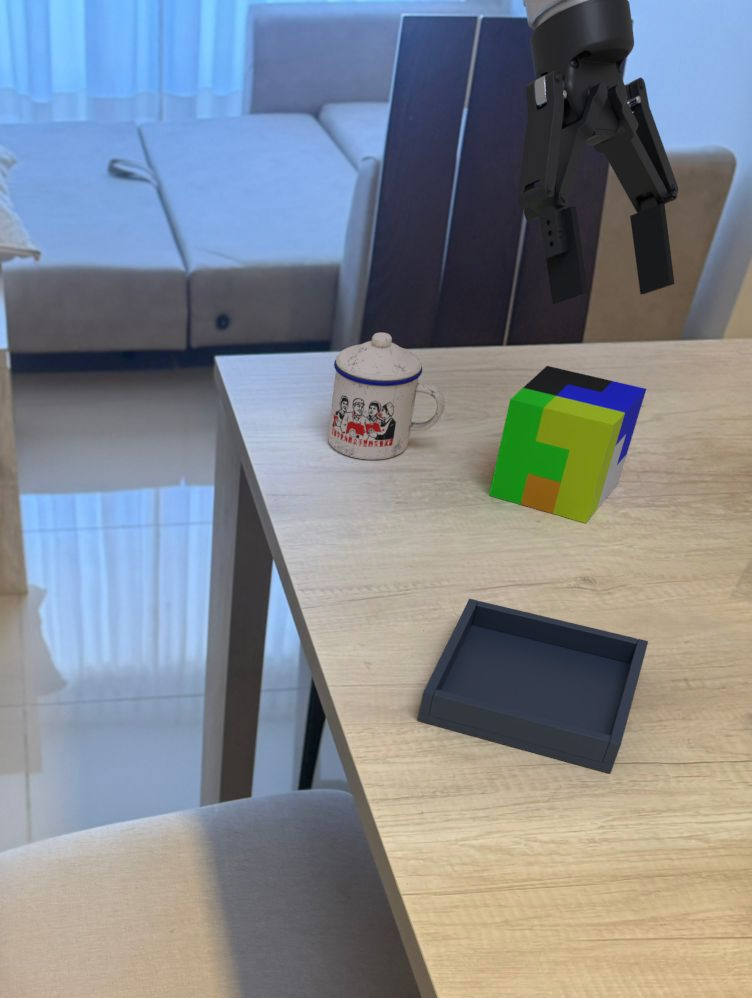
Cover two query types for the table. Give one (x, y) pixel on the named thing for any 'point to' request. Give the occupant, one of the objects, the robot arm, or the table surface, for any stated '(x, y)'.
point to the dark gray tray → (535, 684)
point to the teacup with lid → (377, 399)
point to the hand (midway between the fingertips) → (615, 294)
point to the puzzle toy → (565, 442)
